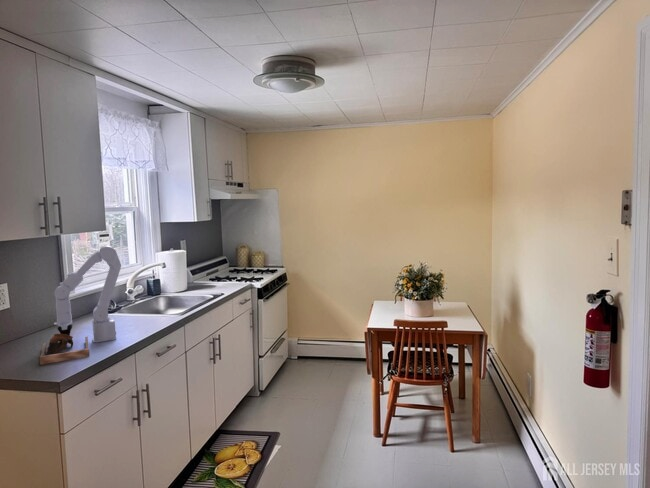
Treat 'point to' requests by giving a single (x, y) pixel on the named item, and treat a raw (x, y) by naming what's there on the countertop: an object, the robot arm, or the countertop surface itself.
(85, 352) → the wooden bracket
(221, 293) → the countertop surface
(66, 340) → the brown jagged ring
